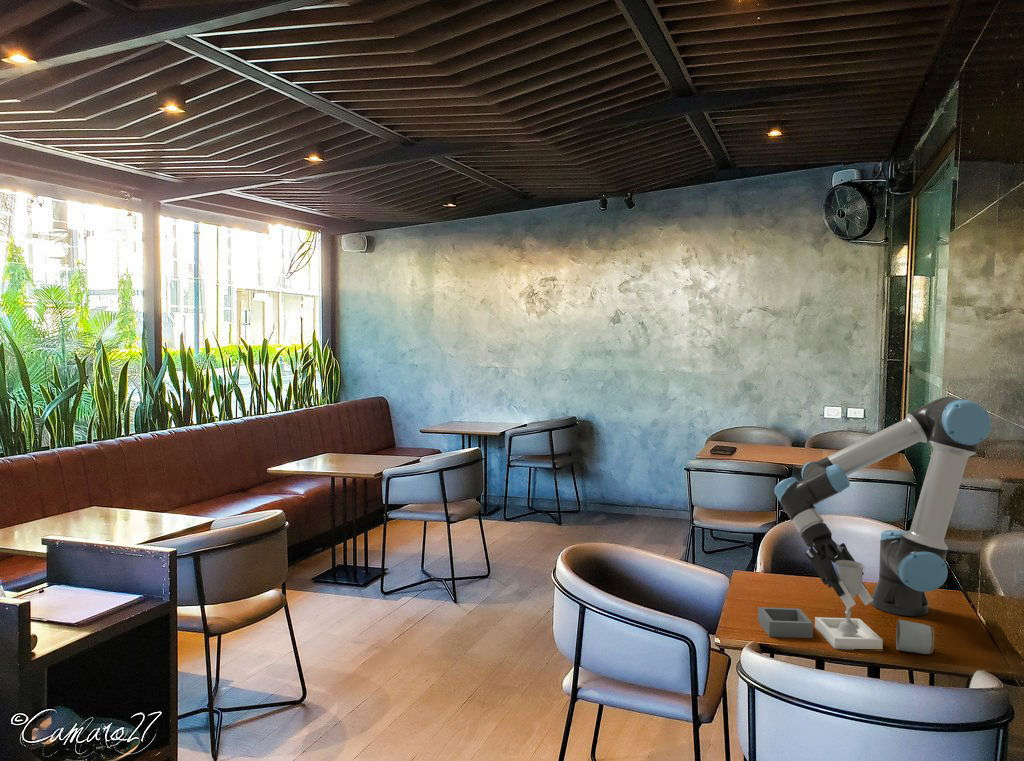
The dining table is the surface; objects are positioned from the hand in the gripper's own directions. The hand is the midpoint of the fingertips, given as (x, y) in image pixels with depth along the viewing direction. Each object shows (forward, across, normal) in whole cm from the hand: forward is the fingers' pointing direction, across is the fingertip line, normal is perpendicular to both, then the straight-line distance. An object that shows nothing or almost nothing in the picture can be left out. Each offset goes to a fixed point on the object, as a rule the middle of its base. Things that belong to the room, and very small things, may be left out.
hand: (860, 604), depth 199 cm
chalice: (+3, 0, -8) cm, 9 cm away
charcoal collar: (-4, +10, -18) cm, 21 cm away
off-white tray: (+5, 0, -10) cm, 11 cm away
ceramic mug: (+14, -9, -2) cm, 16 cm away
